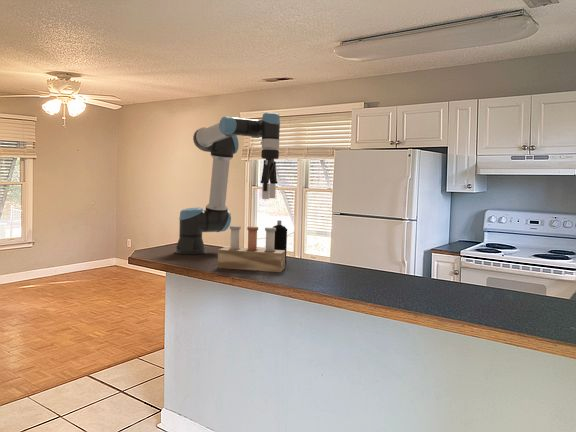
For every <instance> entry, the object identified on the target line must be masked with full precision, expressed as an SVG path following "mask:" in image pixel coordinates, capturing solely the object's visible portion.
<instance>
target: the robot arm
mask: <svg viewBox="0 0 576 432" xmlns="http://www.w3.org/2000/svg"><path fill="white" fill-rule="evenodd" d="M280 119H281V117H280V114H279V113H277V112H264V113H262V118H261V119H254V118H253V119H251V118H243V117H242V118H241V117H234V116H222V117H221V119H220V120H219V122H217V123H216V124H214V125H210V126H208V127H200V128H198V129H196V131H194V133H193V135H192V136H193V137H192V138H193V139H192V140H193V143H194V145H195V146H196V147H197V148H198V149H199V150H200V151H203V152H206V153H207V152H208V153H210V156H211V157H212V168H211V169H212V170H211V178H210V179H211V180H210V189H209V198H208V199H209V200H208V203H207V204H206V205H205V209H203V207H189V208H183V209H181V210H180V212H179V231H178V232H179V234H178V235H179V238H178V241H177V243H176V246H175V253H176V254H178V255H201V254H206V247H205V242H204V241H203V240H204V239H203V233H220V232H225V231H227V230H228V229H230V226H231V224H232V223H231V222H232V214H231V212H230V210H229V208H228V206H227V205H226V202H227V201H226V200H227V191H228V190H227V189H228V183H229V182H228V181H229V180H228V179H229V171H230V170H229V169H230V163H231V162H230V161H231V160H232V159H233V158H234V155H235V154H237V153H238V150H239V145H240V144H239V138H238V136H243V137H251V138H254V139H255V138H257V139H260V138H261V141H260V144H261V153H260V155H261V158H262V159H264V160H263V168H262V173H261V180H260V184H262V189H261V191H262V193H261V194H262V195H261V196H262V197H261V199H262V200H269V199H276V190H277V189H276V187H277V185H278V181H277V179H278V178H277V167H276V166H277V165H276V164H277V162H276V161H275V160H278V159H279V158H280V151H279V149H280V128H281V127H280V126H281V120H280ZM276 184H277V185H276Z"/></svg>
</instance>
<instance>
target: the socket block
mask: <svg viewBox="0 0 576 432" xmlns="http://www.w3.org/2000/svg"><path fill="white" fill-rule="evenodd" d="M285 267H286V263H285V250H274V252H266V248H257V249H256V251H248V247H239V250H230V246H224V247H222V248H219V249H218V250H217V268H218V269H228V270H230V269H231V270H241V271H243V270H245V271H257V270H258V271H260V272H276V273H281V272H282V271H283V270H284V269H285Z"/></svg>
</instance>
